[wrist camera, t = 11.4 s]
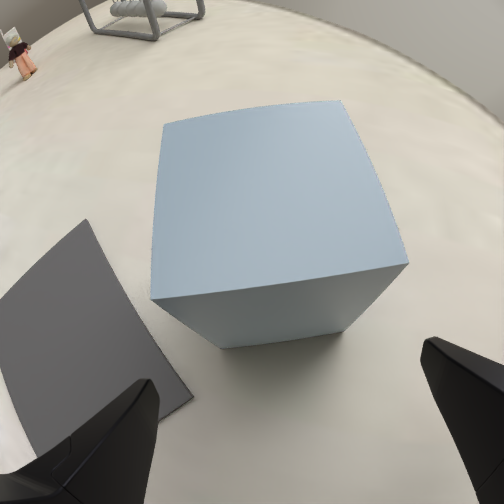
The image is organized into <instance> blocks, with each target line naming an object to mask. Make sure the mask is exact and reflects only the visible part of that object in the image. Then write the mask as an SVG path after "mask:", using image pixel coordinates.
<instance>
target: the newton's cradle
mask: <svg viewBox="0 0 504 504" xmlns="http://www.w3.org/2000/svg"><path fill="white" fill-rule="evenodd" d="M196 1H197V6H198V11H199V12H198V14H194V13H182V12H166V10H167V5H166V3H165V2H164V1H163V0H139V1H138V0H135V1H134V0H132V1H131V0H130V1H126V0H121V2H118V0H117V2H114V0H113V2H114V4H113V5H112V6H111V8H110V13H111V14H112V15H113V16H115V17H119V16H122V17H121V18H119V19H117V20H115V21H113V22H111V23H110V24H108V25H106V26H104V27H102V28H101V29H97V28H96V27H95V25H94V23H93V21H92V18H91V16H90V13H89V11H88V9H87V6H86V3H85V1H84V0H79V2H80V5H81V7H82V9H83V12H84V14H85V17H86V19H87V22H88V24H89V26H90V28H91V30H92V31H93V32H94V33H96V34H105V35H115V36H123V37H131V38H138V39H144V40H150V41H155V40H157V39H158V38H159V36H160V35H161V34H163V33H165V32H167V31H169V30H171V29H173V28H175V27H177V26H180V25H182V24H184V23H186V22H188V21H190V20H193V19H201V18H202V17H203V16H204V15H205V6H204V1H203V0H196ZM127 16H130V17H136V16H139V17H147V16H148V19H149V22H150V25H151V29H152V32H153V34H145V33H137V32H128V31H117V30H102V29H104V28H105V27H107V26H109V25H111V24H113V23H114V22H116V21H118V20H120V19H122V18H124V17H127ZM160 16H166V17H179V18H189V19H188V20H186V21H183V22H181V23H179V24H177V25H175V26H173V27H171V28H169V29H167V30H164V31H162V32H161V33H160V30H159V26H158V23H157V20H156V18H157V17H160Z"/></svg>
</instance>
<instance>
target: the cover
mask: <svg viewBox="0 0 504 504" xmlns="http://www.w3.org/2000/svg"><path fill="white" fill-rule="evenodd" d="M408 264H409V260H408V257H407V254H406V251H405V247H404V244H403V241H402V239H401V236H400V233H399V230H398V227H397V224H396V222H395V219H394V216H393V213H392V211H391V208H390V206H389V203H388V200H387V198H386V195H385V193H384V190H383V188H382V186H381V183H380V181H379V178H378V176H377V174H376V171H375V169H374V167H373V165H372V162H371V160H370V158H369V156H368V154H367V151H366V149H365V147H364V145H363V143H362V141H361V139H360V137H359V135H358V133H357V131H356V129H355V127H354V125H353V123H352V121H351V119H350V117H349V115H348V113H347V111H346V109H345V107H344V105H343V104H342V102H341V100H337V101H317V102H302V103H290V104H280V105H271V106H262V107H255V108H247V109H240V110H234V111H227V112H221V113H216V114H210V115H205V116H200V117H195V118H190V119H185V120H180V121H176V122H171V123H167V124H164V127H163V134H162V141H161V149H160V157H159V165H158V174H157V184H156V195H155V207H154V220H153V236H152V257H151V300H152V301H153V302H154V303H156V304H157V305H158V306H160V307H161V308H162V309H164V310H165V311H167V312H168V313H169V314H171V315H172V316H174V317H175V318H176V319H178V320H179V321H181V322H182V323H183V324H185V325H186V326H188V327H189V328H191V329H192V330H193V331H195V332H196V333H198V334H199V335H201V336H202V337H204V338H205V339H207V340H208V341H210V342H211V343H213V344H214V345H216V346H217V347H219V348H220V349H224V348H234V347H243V346H252V345H260V344H268V343H275V342H283V341H289V340H296V339H303V338H309V337H315V336H321V335H327V334H332V333H338V332H343V331H345V330H346V329H347V328H348V327H349V326H350V325H351V324H352V323H353V322H354V321H355V320H356V319H357V318H358V317H359V316H360V315H361V314H362V313H363V312H364V311H365V310H366V309H367V308H368V307H369V306H370V305H371V304H372V303H373V302H374V301H375V300H376V299H377V298H378V297H379V296H380V295H381V293H382V292H383V291H384V290H385V289H386V288H387V287H388V286H389V285H390V284H391V283H392V282H393V280H394V279H395V278H396V277H397V276H398V275H399V274H400V273H401V272H402V270H403V269H404V268H405V267H406V266H407V265H408Z"/></svg>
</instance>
